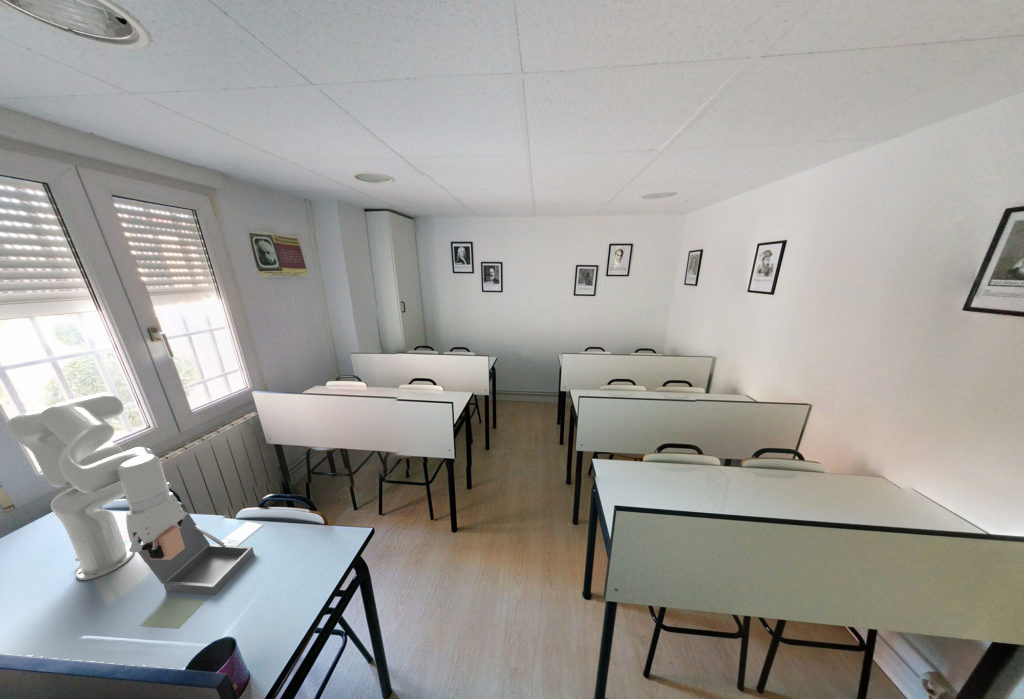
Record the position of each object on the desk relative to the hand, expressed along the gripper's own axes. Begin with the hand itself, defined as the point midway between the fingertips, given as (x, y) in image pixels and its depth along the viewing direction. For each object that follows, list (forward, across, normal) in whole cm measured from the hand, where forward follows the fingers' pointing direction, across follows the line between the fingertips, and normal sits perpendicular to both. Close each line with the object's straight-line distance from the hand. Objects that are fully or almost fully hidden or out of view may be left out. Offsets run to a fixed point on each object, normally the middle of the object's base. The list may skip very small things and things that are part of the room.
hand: (166, 550), depth 91 cm
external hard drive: (+22, -25, -4) cm, 34 cm away
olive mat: (+21, +3, 0) cm, 22 cm away
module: (+1, 0, 0) cm, 1 cm away
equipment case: (+21, -10, -3) cm, 24 cm away
